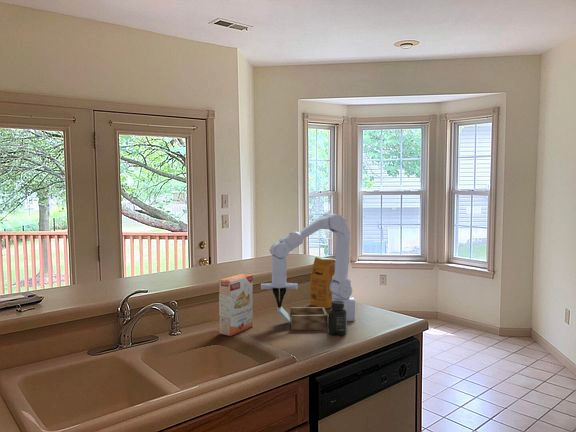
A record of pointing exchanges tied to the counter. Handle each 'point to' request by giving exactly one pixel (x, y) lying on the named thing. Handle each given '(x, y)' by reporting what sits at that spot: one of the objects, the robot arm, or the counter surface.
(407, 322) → the counter surface
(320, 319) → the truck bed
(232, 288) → the cracker box
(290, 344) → the counter surface
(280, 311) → the panel
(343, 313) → the supplement bottle
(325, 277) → the coffee package
